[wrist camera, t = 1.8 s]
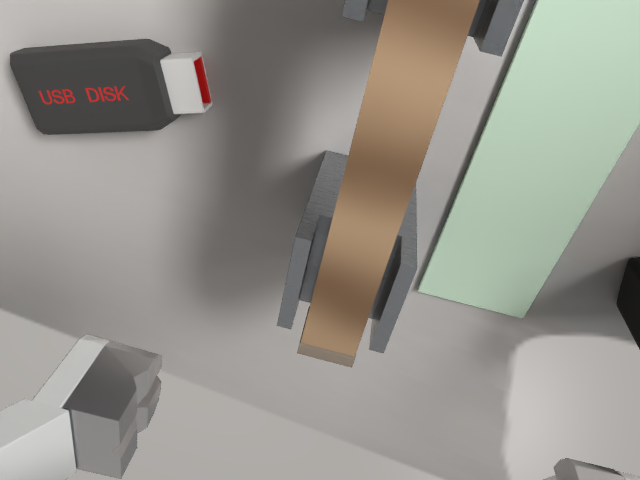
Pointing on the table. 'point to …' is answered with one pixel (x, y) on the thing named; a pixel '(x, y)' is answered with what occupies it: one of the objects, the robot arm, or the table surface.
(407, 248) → the stand
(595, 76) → the mat
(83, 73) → the usb drive
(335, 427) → the table surface
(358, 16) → the stand
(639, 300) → the battery
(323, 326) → the rail
